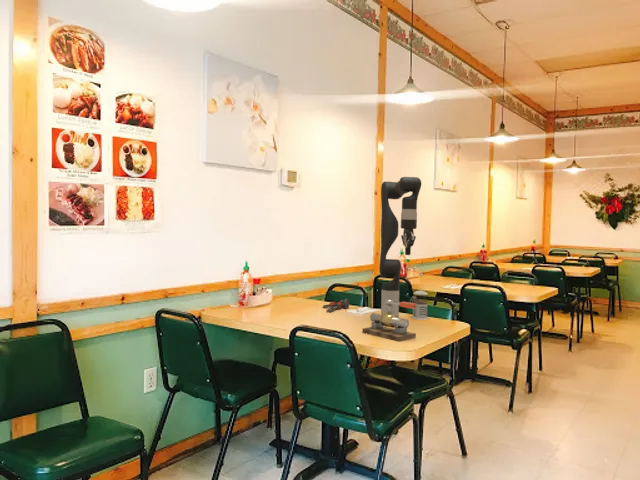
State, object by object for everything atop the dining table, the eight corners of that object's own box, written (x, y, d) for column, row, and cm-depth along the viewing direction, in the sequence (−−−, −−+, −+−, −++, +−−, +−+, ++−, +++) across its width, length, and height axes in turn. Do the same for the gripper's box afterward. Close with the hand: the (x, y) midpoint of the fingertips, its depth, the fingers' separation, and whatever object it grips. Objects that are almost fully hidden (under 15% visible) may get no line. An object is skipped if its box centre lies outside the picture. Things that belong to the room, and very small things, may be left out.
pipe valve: (410, 334, 233) (410, 307, 233) (401, 335, 229) (402, 308, 229) (376, 326, 248) (377, 301, 248) (368, 328, 244) (369, 302, 244)
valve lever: (389, 303, 241) (389, 299, 241) (416, 308, 229) (416, 303, 229) (384, 304, 238) (384, 299, 238) (411, 308, 227) (412, 304, 227)
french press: (432, 319, 284) (434, 273, 283) (416, 320, 278) (418, 274, 277) (420, 316, 292) (421, 272, 291) (404, 317, 286) (406, 272, 285)
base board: (415, 337, 235) (415, 333, 235) (399, 341, 227) (399, 336, 227) (379, 329, 251) (379, 325, 251) (362, 332, 243) (362, 328, 243)
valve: (329, 308, 322) (352, 307, 317) (313, 317, 298) (337, 315, 292) (328, 298, 322) (350, 296, 316) (312, 306, 298) (336, 304, 292)
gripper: (421, 219, 241) (420, 256, 241) (410, 219, 253) (409, 254, 254) (406, 218, 239) (405, 255, 240) (396, 218, 252) (395, 254, 252)
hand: (407, 254), depth 247 cm, fingers closed
